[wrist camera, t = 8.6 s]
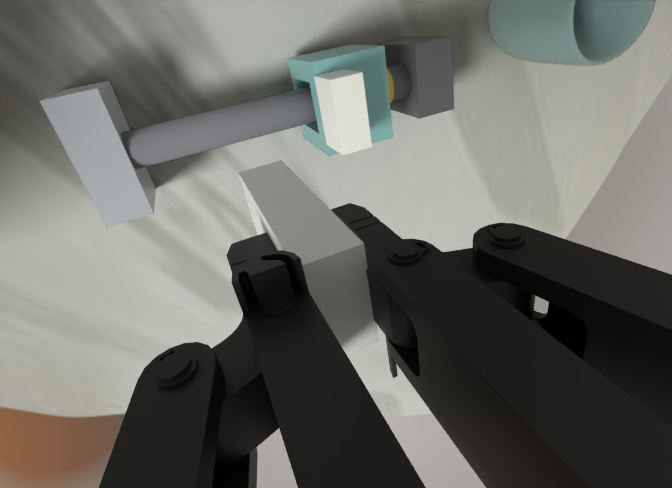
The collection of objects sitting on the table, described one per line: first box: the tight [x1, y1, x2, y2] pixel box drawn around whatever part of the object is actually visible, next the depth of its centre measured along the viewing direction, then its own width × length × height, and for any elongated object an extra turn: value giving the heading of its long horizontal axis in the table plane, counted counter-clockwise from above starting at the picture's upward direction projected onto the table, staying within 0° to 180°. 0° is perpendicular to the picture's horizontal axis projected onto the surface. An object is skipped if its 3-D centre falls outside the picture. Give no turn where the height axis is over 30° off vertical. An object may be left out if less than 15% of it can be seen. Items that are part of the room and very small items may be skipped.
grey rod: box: [121, 64, 412, 169], centre depth 28 cm, size 21×3×3 cm, turn 101°
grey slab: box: [40, 80, 156, 228], centre depth 26 cm, size 3×8×5 cm, turn 11°
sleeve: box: [287, 45, 393, 156], centre depth 28 cm, size 5×6×9 cm
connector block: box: [377, 36, 454, 118], centre depth 31 cm, size 3×5×6 cm, turn 11°
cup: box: [488, 0, 656, 66], centre depth 31 cm, size 8×8×10 cm
